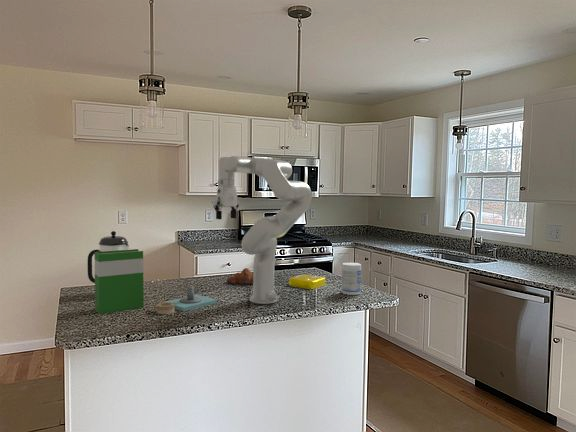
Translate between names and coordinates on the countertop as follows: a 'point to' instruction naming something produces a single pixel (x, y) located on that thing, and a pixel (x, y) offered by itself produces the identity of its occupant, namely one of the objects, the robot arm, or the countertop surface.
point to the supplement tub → (351, 278)
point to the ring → (165, 307)
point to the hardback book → (118, 280)
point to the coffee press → (107, 249)
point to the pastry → (242, 278)
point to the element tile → (307, 281)
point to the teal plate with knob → (191, 301)
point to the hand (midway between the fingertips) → (226, 218)
